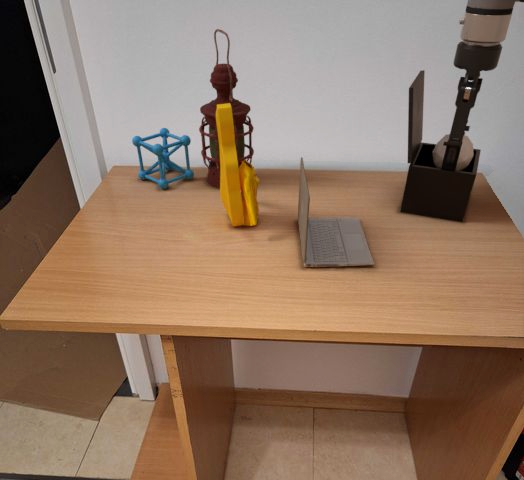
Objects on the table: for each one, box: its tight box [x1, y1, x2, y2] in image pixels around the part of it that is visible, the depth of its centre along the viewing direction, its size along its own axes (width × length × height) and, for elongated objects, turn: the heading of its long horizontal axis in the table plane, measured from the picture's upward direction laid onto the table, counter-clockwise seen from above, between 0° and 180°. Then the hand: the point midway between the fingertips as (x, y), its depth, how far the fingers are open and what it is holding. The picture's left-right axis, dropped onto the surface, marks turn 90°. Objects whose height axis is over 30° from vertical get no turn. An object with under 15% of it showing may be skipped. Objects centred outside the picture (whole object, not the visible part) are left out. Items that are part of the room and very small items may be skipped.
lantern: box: [198, 28, 255, 189], centre depth 105 cm, size 12×12×30 cm
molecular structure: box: [131, 127, 195, 190], centre depth 112 cm, size 10×10×10 cm
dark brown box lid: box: [407, 69, 426, 164], centre depth 96 cm, size 13×15×1 cm
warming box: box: [399, 141, 481, 223], centre depth 102 cm, size 13×15×10 cm
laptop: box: [297, 156, 375, 268], centre depth 88 cm, size 18×12×13 cm
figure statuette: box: [216, 103, 261, 227], centre depth 92 cm, size 18×8×22 cm, turn 8°
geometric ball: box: [432, 133, 474, 171], centre depth 97 cm, size 8×8×8 cm
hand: (448, 170), depth 100 cm, fingers closed on geometric ball, 8 cm apart
